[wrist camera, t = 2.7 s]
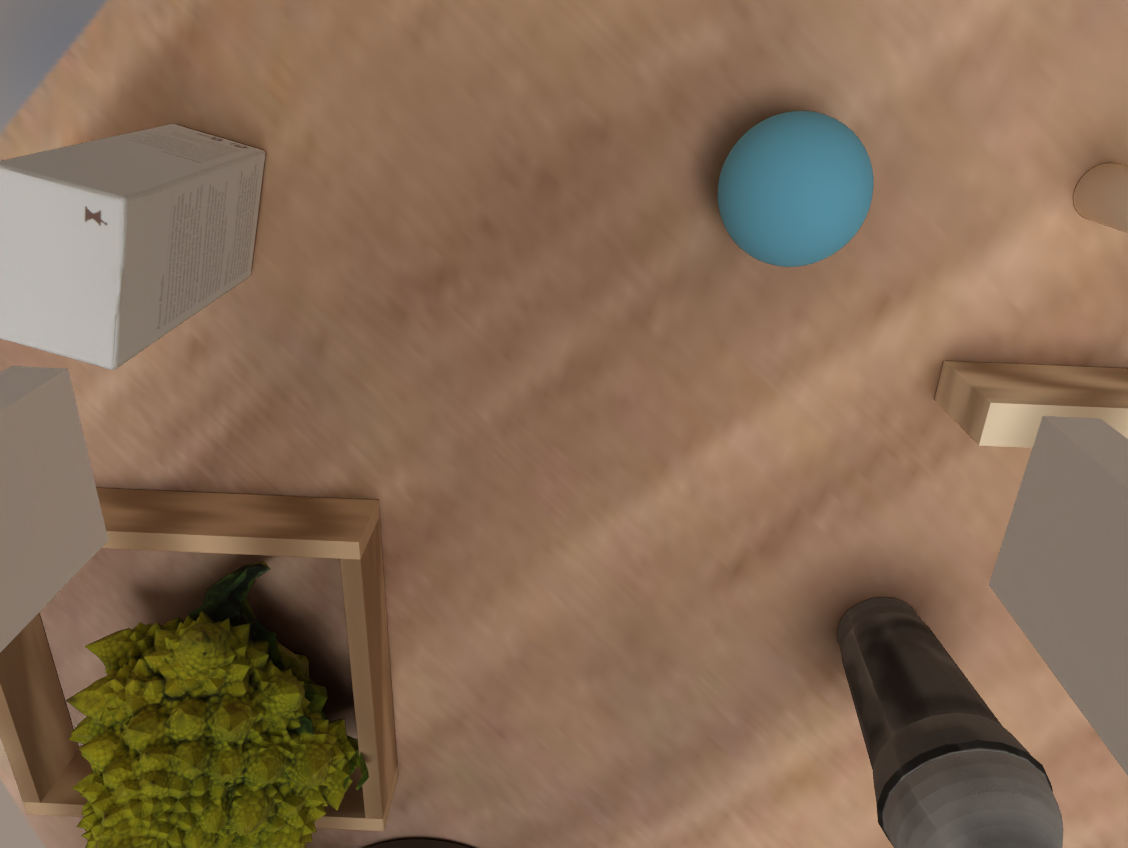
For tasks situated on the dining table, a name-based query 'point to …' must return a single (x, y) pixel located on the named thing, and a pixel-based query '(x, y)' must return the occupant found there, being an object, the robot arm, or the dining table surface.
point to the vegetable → (208, 734)
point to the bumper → (1028, 398)
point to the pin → (1104, 196)
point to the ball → (795, 188)
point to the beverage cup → (938, 742)
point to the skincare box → (123, 239)
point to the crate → (231, 526)
